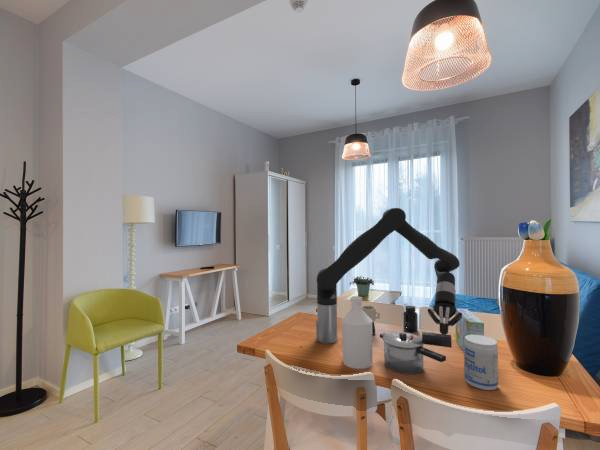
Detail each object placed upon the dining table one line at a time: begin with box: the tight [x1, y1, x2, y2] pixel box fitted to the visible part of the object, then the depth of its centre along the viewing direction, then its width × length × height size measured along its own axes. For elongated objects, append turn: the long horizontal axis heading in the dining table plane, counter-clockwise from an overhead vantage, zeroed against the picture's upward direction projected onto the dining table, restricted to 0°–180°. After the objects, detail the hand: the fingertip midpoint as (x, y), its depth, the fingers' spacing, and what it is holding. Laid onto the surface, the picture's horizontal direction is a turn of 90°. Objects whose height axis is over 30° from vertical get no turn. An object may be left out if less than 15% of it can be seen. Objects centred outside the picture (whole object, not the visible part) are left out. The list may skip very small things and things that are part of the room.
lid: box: [382, 331, 452, 349], centre depth 108 cm, size 24×15×4 cm, turn 68°
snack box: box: [455, 308, 485, 352], centre depth 123 cm, size 21×6×15 cm, turn 166°
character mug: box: [362, 304, 381, 335], centre depth 144 cm, size 11×7×13 cm, turn 61°
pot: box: [379, 332, 447, 375], centre depth 108 cm, size 27×14×9 cm, turn 32°
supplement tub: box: [463, 335, 499, 391], centre depth 96 cm, size 10×10×15 cm
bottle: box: [341, 295, 373, 370], centre depth 113 cm, size 12×12×25 cm
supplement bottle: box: [402, 305, 419, 333], centre depth 148 cm, size 7×7×12 cm
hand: (443, 334), depth 110 cm, fingers closed
